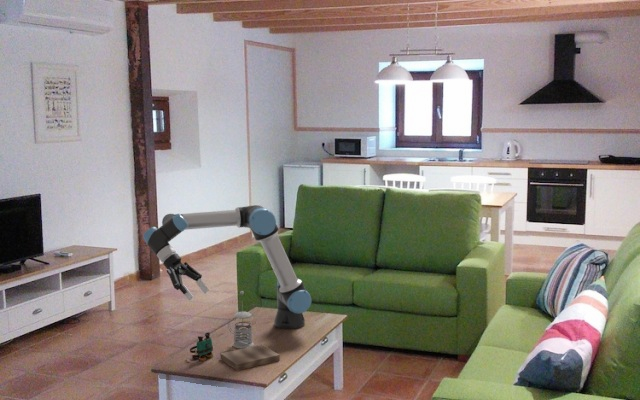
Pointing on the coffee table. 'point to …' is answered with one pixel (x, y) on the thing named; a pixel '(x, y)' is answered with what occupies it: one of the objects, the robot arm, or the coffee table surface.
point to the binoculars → (203, 348)
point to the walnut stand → (249, 357)
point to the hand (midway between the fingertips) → (199, 295)
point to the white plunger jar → (242, 330)
